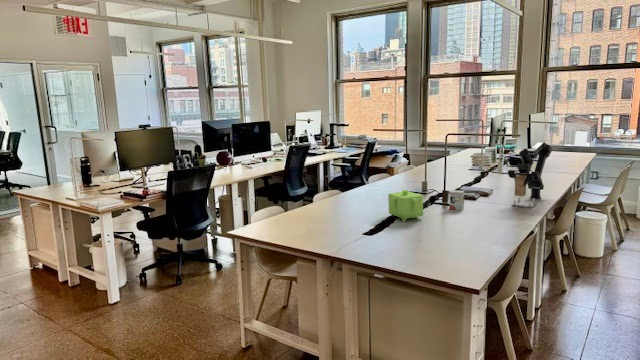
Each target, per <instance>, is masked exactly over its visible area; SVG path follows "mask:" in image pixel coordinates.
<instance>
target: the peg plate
mask: <svg viewBox="0 0 640 360" xmlns="http://www.w3.org/2000/svg"><path fill="white" fill-rule="evenodd" d="M537 205H538V204H537V202H536V198H532V201H530V200H529V201H521V196H517V200H516V199H513V203H512V204H511V207H515V208H525V209H526V208H527V209H533V208H534V207H535V206H537Z"/></svg>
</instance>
